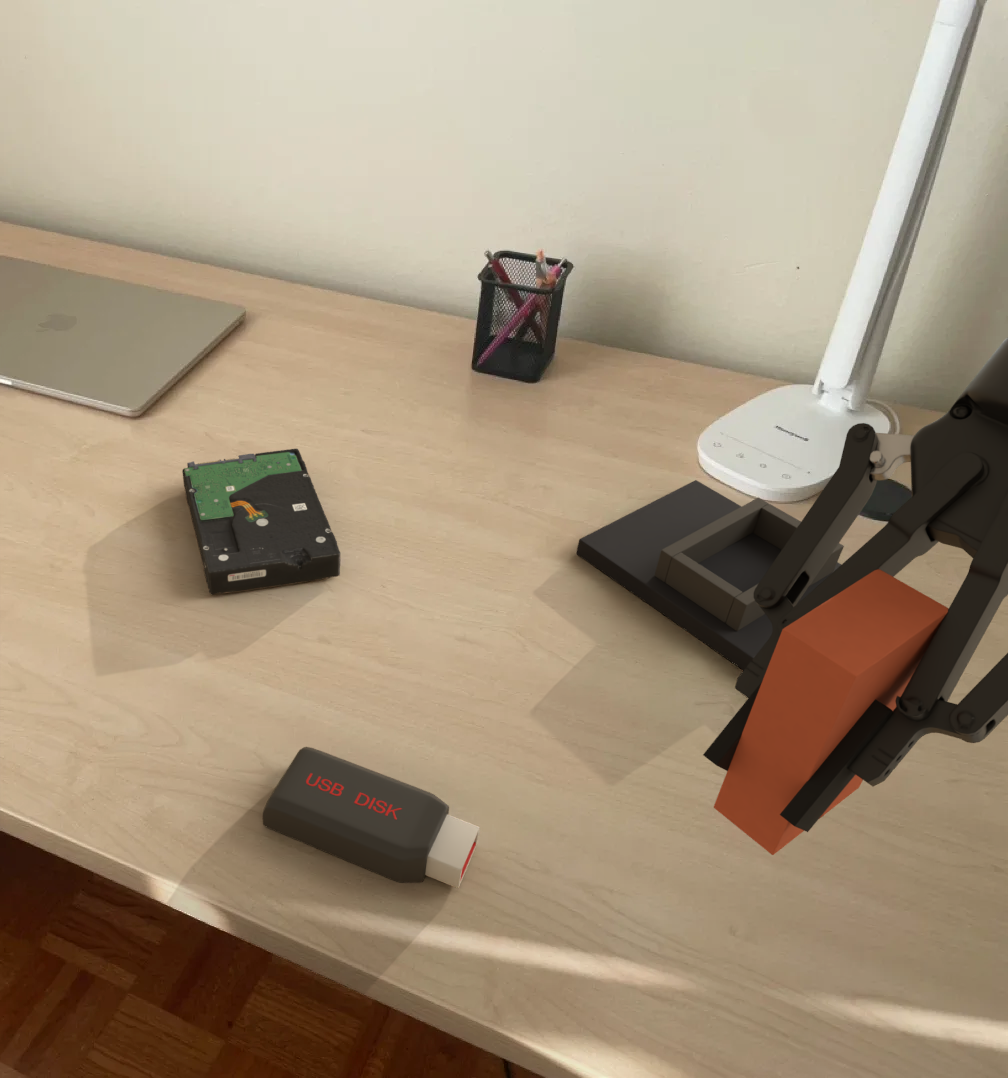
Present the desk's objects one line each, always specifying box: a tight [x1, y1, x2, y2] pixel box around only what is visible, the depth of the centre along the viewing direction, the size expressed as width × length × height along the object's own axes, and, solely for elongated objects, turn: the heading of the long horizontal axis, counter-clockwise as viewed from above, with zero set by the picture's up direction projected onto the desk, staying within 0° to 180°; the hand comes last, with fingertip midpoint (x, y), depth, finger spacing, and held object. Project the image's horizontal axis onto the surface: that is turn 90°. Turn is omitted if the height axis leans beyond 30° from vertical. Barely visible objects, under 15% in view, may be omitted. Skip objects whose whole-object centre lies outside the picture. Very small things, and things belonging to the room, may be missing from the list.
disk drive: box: [181, 448, 341, 596], centre depth 85 cm, size 10×3×15 cm
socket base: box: [575, 479, 845, 671], centre depth 79 cm, size 20×14×4 cm
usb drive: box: [262, 746, 481, 889], centre depth 62 cm, size 5×12×3 cm, turn 63°
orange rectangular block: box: [713, 569, 949, 856], centre depth 49 cm, size 3×7×12 cm, turn 124°
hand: (755, 792), depth 49 cm, fingers closed on orange rectangular block, 3 cm apart
